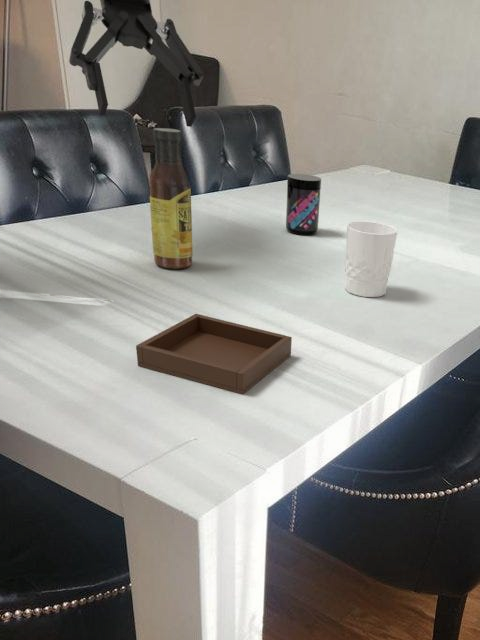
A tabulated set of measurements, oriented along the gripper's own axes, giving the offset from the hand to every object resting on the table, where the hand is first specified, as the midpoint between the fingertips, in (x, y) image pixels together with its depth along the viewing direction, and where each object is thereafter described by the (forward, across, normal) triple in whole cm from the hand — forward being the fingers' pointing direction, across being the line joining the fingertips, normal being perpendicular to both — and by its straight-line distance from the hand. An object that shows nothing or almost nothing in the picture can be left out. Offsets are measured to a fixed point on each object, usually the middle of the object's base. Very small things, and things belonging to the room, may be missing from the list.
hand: (149, 116), depth 101 cm
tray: (+46, -6, -22) cm, 51 cm away
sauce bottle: (+21, +1, +7) cm, 22 cm away
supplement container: (+9, +34, +18) cm, 40 cm away
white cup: (+32, +27, -9) cm, 43 cm away
